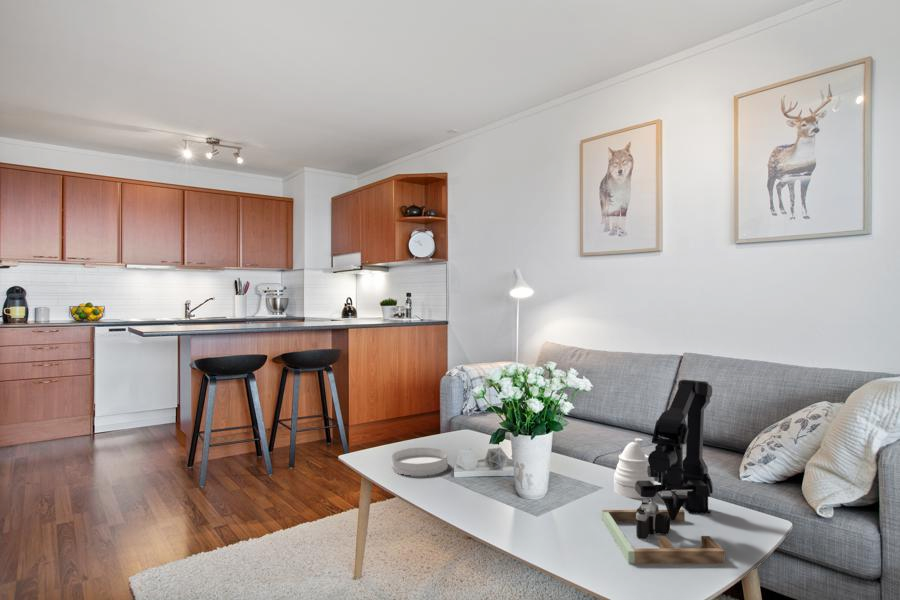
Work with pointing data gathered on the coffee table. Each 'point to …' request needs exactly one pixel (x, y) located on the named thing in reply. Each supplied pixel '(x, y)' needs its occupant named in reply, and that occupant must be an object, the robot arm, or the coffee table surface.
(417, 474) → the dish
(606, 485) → the coffee table surface
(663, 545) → the trap box
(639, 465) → the honey pot
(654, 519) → the camera
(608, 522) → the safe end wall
